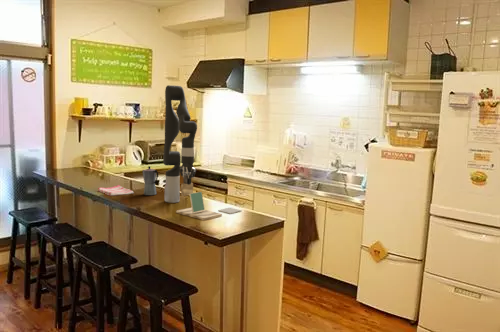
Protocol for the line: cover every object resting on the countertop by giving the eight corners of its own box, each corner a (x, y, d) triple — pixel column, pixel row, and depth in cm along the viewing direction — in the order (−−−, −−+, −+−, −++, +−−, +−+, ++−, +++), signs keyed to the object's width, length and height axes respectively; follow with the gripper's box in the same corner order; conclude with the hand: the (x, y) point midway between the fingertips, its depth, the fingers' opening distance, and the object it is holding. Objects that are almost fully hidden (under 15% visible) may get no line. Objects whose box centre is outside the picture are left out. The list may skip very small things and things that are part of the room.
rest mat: (218, 211, 255) (218, 210, 255) (229, 208, 263) (229, 207, 263) (230, 214, 249) (230, 213, 249) (241, 211, 256) (241, 210, 256)
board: (175, 212, 248) (175, 210, 248) (193, 208, 259) (193, 206, 259) (204, 220, 233) (204, 218, 233) (221, 216, 244) (221, 213, 243)
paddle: (181, 195, 249) (181, 175, 247) (190, 193, 254) (190, 174, 253) (184, 196, 247) (184, 175, 246) (192, 194, 253) (193, 174, 251)
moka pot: (147, 192, 304) (147, 164, 302) (163, 194, 297) (163, 166, 294) (137, 194, 296) (137, 166, 294) (154, 197, 288) (154, 168, 286)
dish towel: (119, 189, 315) (119, 184, 315) (134, 194, 298) (134, 189, 298) (97, 191, 304) (97, 186, 303) (111, 197, 287) (110, 192, 286)
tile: (189, 193, 243) (190, 193, 242) (200, 191, 250) (201, 191, 249) (192, 212, 242) (193, 212, 242) (203, 210, 249) (204, 209, 249)
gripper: (175, 154, 249) (174, 183, 251) (191, 156, 240) (190, 186, 243) (184, 153, 255) (184, 181, 257) (200, 155, 246) (200, 184, 248)
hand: (187, 183), depth 250 cm, fingers closed on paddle, 2 cm apart
